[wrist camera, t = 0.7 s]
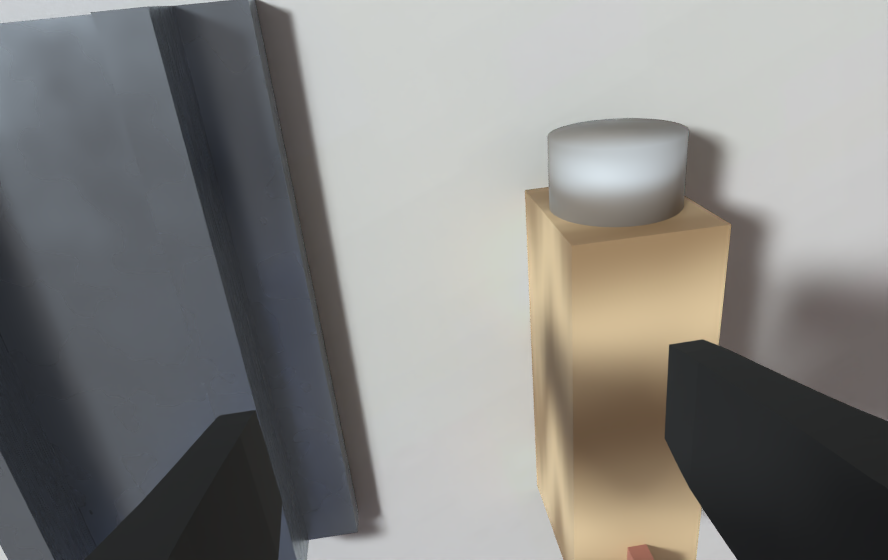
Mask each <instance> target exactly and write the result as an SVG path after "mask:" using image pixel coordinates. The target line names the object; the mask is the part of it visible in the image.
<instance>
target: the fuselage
mask: <svg viewBox="0 0 888 560" xmlns="http://www.w3.org/2000/svg"><path fill="white" fill-rule="evenodd" d="M688 138H689V129H688V128H687V127H686V126H684V125H682V124H679V123H675V122H671V121H665V120H657V119H640V118H623V119H605V120H594V121H587V122H581V123H575V124H571V125H567V126H563V127H560V128H558V129H555V130H553V131H552V132H550V133H549V134H548V177H549V187H546V188H538V189H530V190H525V202H526V226H527V250H528V274H529V298H530V322H531V346H532V370H533V395H534V419H535V443H536V467H537V486H538V489H539V491H540V494H541V497H542V500H543V503H544V506H545V508H546V511H547V514H548V517H549V520H550V523H551V526H552V528H553V531H554V534H555V537H556V540H557V543H558V545H559V548H560V551H561V554H562V557H563V560H696V554H697V545H698V535H699V526H700V516H701V505H700V504H699V502H698V501H697V499H696V498H695V496H694V495H693V493H692V491H691V490H690V488H689V487H688V485H687V483H686V481H685V479H684V477H683V475H682V473H681V471H680V469H679V467H678V465H677V463H676V461H675V459H674V457H673V455H672V453H671V451H670V449H669V447H668V444H667V442H666V440H665V438H664V437H665V416H666V396H667V376H668V356H669V345H670V344H676V343H682V342H689V341H695V340H701V339H703V340H706V341H709V342H711V343H714V344H716V345H718V346H719V337H720V327H721V318H722V308H723V299H724V289H725V280H726V271H727V261H728V252H729V242H730V233H731V224H730V223H728V222H726V221H725V220H723V219H722V218H720V217H718V216H717V215H715V214H713V213H712V212H710V211H708V210H707V209H705V208H704V207H702V206H700V205H699V204H697V203H695V202H694V201H692V200H691V199H689V198H687V197H686V196H684V194H685V180H686V166H687V152H688Z"/></svg>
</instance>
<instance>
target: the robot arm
mask: <svg viewBox="0 0 888 560" xmlns="http://www.w3.org/2000/svg"><path fill="white" fill-rule="evenodd" d="M664 438H665V440H666V442H667V444H668V447H669V449H670V451H671V453H672V455H673V457H674V459H675V461H676V463H677V465H678V467H679V469H680V471H681V473H682V475H683V477H684V479H685V481H686V483H687V485H688V487H689V488H690V490H691V491H692V493H693V495H694V496H695V498H696V499H697V501H698V502H699V504H700V505H701V507H702V508H703V510H704V511H705V513H706V514H707V516H708V517H709V519H710V520H711V522H712V523H713V525H714V526H715V528H716V529H717V531H718V532H719V533H720V535H721V536H722V538H723V539H724V541H725V542H726V544H727V545H728V547H729V548H730V550H731V551H732V553H733V554H734V555H735V557H736V558H737V560H888V421H885V420H883V419H881V418H878V417H876V416H873V415H871V414H868V413H866V412H864V411H861V410H859V409H856V408H854V407H851V406H849V405H847V404H844V403H842V402H840V401H838V400H835V399H833V398H831V397H828V396H826V395H824V394H822V393H820V392H817V391H815V390H813V389H811V388H809V387H806V386H804V385H802V384H800V383H798V382H796V381H793V380H791V379H789V378H787V377H785V376H783V375H781V374H779V373H776V372H774V371H772V370H770V369H768V368H766V367H764V366H762V365H760V364H758V363H755V362H753V361H751V360H749V359H747V358H745V357H743V356H741V355H738V354H736V353H734V352H732V351H730V350H728V349H725V348H723V347H721V346H718V345H716V344H714V343H711V342H709V341H706V340H703V339H701V340H695V341H689V342H682V343H676V344H670V345H669V356H668V376H667V396H666V416H665V437H664ZM281 515H282V499H281V496H280V492H279V489H278V485H277V482H276V478H275V475H274V472H273V468H272V465H271V461H270V458H269V454H268V451H267V447H266V444H265V441H264V437H263V434H262V430H261V427H260V423H259V420H258V416H257V413H256V410H251V411H245V412H238V413H232V414H226V415H219V416H218V417H217V418H216V419H215V420H214V422H213V423H212V424H211V425H210V426H209V427H208V428H207V429H206V430H205V431H204V432H203V434H202V435H201V436H200V437H199V438H198V439H197V440H196V441H195V443H194V444H193V445H192V446H191V447H190V448H189V449H188V451H187V452H186V453H185V454H184V455H183V456H182V457H181V459H180V460H179V461H178V462H177V463H176V464H175V465H174V466H173V468H172V469H171V470H170V471H169V472H168V473H167V474H166V475H165V476H164V477H163V479H162V480H161V481H160V482H159V483H158V484H157V485H156V486H155V487H154V489H153V490H152V491H151V492H150V493H149V494H148V495H147V496H146V497H145V498H144V500H143V501H142V502H141V503H140V504H139V505H138V506H137V507H136V508H135V509H134V510H133V511H132V512H131V513H130V514H129V515H128V516H127V517H126V518H125V519H124V520H123V521H122V522H121V523H120V524H119V525H118V526H117V527H116V528H115V529H114V530H113V531H112V532H111V533H110V534H109V535H108V536H107V537H106V538H105V539H104V540H103V541H102V542H101V543H100V544H99V545H98V546H97V547H96V548H95V549H94V550H93V551H92V552H91V553H90V554H89V555H88V556H87V557H86V558H85V559H84V560H278V557H279V544H280V532H281Z"/></svg>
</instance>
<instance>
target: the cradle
mask: <svg viewBox="0 0 888 560" xmlns="http://www.w3.org/2000/svg"><path fill="white" fill-rule="evenodd" d="M251 410H256V413H257V416H258V420H259V423H260V427H261V430H262V434H263V437H264V441H265V444H266V447H267V451H268V454H269V458H270V461H271V465H272V468H273V472H274V475H275V478H276V482H277V485H278V489H279V492H280V496H281V499H282V515H281V532H280V544H279V557H278V560H307V552H308V543H309V540H311V539H317V538H324V537H330V536H336V535H343V534H349V533H356V532H358V509H357V504H356V499H355V494H354V489H353V484H352V479H351V474H350V469H349V464H348V459H347V454H346V449H345V444H344V439H343V434H342V429H341V424H340V419H339V414H338V409H337V404H336V399H335V395H334V390H333V385H332V380H331V375H330V370H329V365H328V360H327V355H326V350H325V345H324V340H323V335H322V330H321V325H320V320H319V315H318V310H317V305H316V300H315V295H314V290H313V285H312V280H311V275H310V271H309V266H308V261H307V256H306V251H305V246H304V241H303V236H302V231H301V226H300V221H299V216H298V211H297V206H296V201H295V196H294V191H293V186H292V181H291V176H290V171H289V166H288V161H287V156H286V151H285V147H284V142H283V137H282V132H281V127H280V122H279V117H278V112H277V107H276V102H275V97H274V92H273V87H272V82H271V77H270V72H269V67H268V62H267V57H266V52H265V47H264V42H263V37H262V32H261V27H260V23H259V18H258V13H257V8H256V3H255V0H229V1H219V2H209V3H199V4H189V5H179V6H156V7H140V8H130V9H120V10H110V11H100V12H91V14H90V15H80V16H70V17H60V18H50V19H40V20H30V21H21V22H11V23H1V24H0V545H1V547H2V549H3V551H4V553H5V554H6V556H7V558H8V560H84V559H85V558H86V557H87V556H88V555H89V554H90V553H91V552H92V551H93V550H94V549H95V548H96V547H97V546H98V545H99V544H100V543H101V542H102V541H103V540H104V539H105V538H106V537H107V536H108V535H109V534H110V533H111V532H112V531H113V530H114V529H115V528H116V527H117V526H118V525H119V524H120V523H121V522H122V521H123V520H124V519H125V518H126V517H127V516H128V515H129V514H130V513H131V512H132V511H133V510H134V509H135V508H136V507H137V506H138V505H139V504H140V503H141V502H142V501H143V500H144V498H145V497H146V496H147V495H148V494H149V493H150V492H151V491H152V490H153V489H154V487H155V486H156V485H157V484H158V483H159V482H160V481H161V480H162V479H163V477H164V476H165V475H166V474H167V473H168V472H169V471H170V470H171V469H172V468H173V466H174V465H175V464H176V463H177V462H178V461H179V460H180V459H181V457H182V456H183V455H184V454H185V453H186V452H187V451H188V449H189V448H190V447H191V446H192V445H193V444H194V443H195V441H196V440H197V439H198V438H199V437H200V436H201V435H202V434H203V432H204V431H205V430H206V429H207V428H208V427H209V426H210V425H211V424H212V423H213V422H214V420H215V419H216V418H217V417H218V416H219V415H226V414H232V413H238V412H245V411H251Z"/></svg>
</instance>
